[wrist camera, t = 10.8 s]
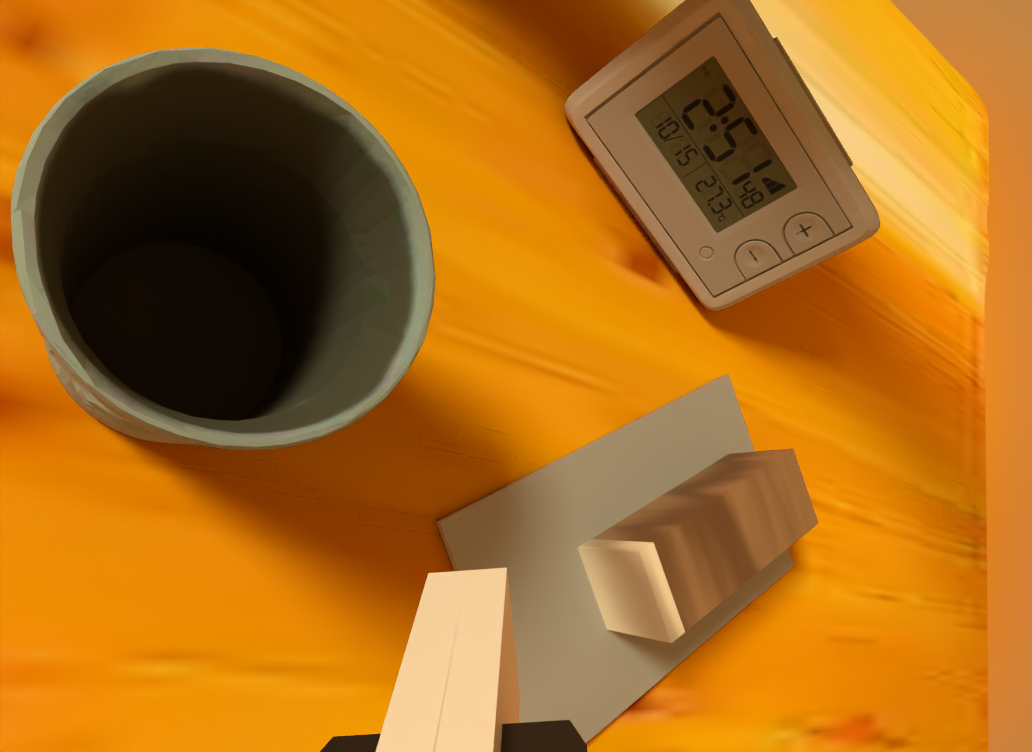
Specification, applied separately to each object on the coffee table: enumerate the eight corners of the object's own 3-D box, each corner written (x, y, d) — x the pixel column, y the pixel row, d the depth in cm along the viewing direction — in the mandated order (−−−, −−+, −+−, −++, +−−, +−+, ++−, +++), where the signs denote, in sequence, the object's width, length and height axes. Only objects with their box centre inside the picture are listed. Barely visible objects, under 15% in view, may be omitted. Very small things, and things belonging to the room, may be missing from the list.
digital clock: (543, 99, 40) (682, -17, 31) (634, 57, 45) (777, -53, 36) (675, 343, 43) (837, 300, 34) (747, 279, 47) (905, 227, 39)
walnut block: (671, 643, 32) (818, 523, 39) (639, 552, 32) (793, 448, 39) (606, 629, 36) (752, 522, 43) (577, 547, 36) (728, 453, 43)
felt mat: (531, 782, 32) (536, 784, 32) (435, 521, 32) (439, 521, 32) (788, 565, 45) (794, 565, 45) (723, 375, 44) (728, 374, 44)
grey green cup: (167, 162, 28) (232, -26, 18) (357, 335, 31) (501, 255, 21) (-55, 344, 23) (-129, 223, 13) (198, 524, 26) (287, 534, 17)
